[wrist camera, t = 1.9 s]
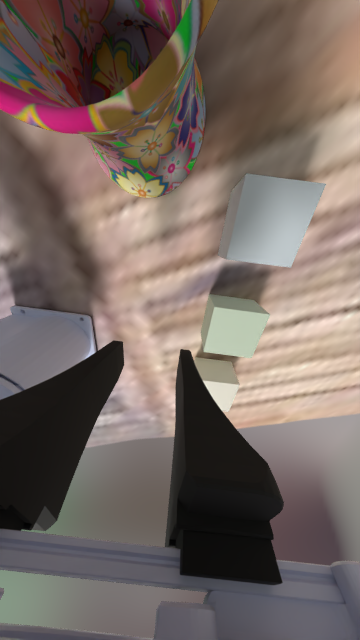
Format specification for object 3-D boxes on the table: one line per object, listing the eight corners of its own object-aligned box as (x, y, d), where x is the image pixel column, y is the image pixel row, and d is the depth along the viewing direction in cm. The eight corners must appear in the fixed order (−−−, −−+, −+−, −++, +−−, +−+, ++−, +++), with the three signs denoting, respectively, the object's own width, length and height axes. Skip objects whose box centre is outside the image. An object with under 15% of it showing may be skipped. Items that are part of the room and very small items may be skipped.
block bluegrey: (217, 255, 15) (226, 259, 12) (230, 191, 13) (246, 173, 10) (267, 261, 15) (290, 267, 12) (288, 199, 13) (326, 183, 10)
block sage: (200, 331, 19) (203, 351, 16) (208, 293, 17) (214, 307, 14) (239, 337, 20) (251, 358, 16) (253, 299, 17) (270, 314, 14)
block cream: (189, 382, 24) (190, 407, 20) (195, 356, 21) (196, 379, 18) (222, 386, 24) (228, 411, 20) (231, 361, 21) (239, 384, 18)
